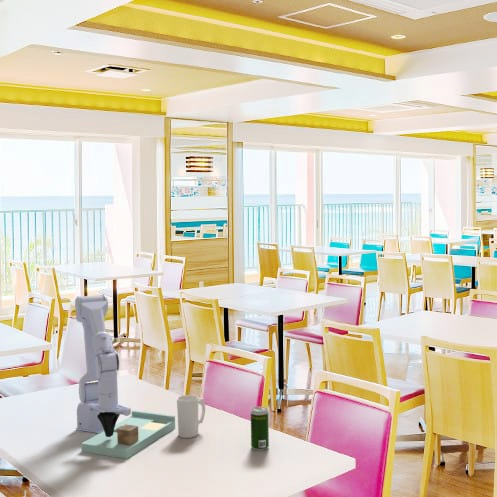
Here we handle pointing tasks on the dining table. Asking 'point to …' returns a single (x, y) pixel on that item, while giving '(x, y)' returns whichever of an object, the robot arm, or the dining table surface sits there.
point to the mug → (189, 415)
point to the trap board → (148, 432)
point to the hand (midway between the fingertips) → (109, 435)
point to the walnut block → (127, 435)
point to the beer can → (259, 428)
